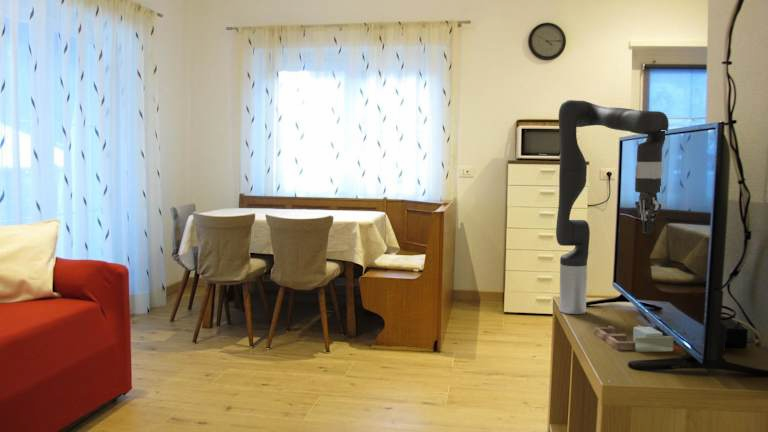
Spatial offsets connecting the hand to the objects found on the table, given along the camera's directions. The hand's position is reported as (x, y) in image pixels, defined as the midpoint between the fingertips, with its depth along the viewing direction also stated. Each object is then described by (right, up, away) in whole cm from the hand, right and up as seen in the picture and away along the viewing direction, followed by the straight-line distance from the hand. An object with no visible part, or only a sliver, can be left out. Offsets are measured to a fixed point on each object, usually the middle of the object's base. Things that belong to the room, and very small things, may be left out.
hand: (646, 232), depth 183 cm
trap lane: (-7, -32, -6) cm, 34 cm away
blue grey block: (-5, -33, -11) cm, 35 cm away
